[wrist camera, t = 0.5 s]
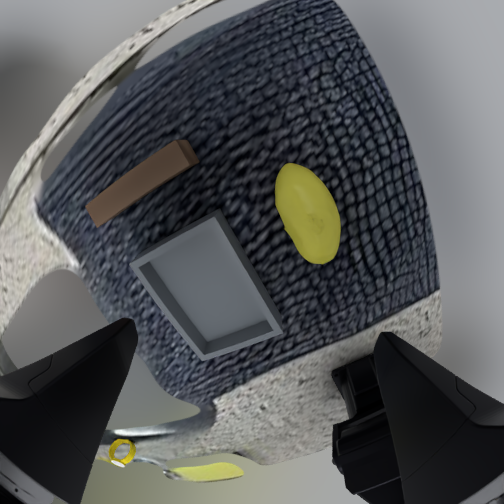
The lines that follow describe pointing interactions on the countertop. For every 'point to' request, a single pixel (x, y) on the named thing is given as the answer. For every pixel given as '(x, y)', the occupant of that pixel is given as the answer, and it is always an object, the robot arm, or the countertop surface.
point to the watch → (128, 457)
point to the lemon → (308, 213)
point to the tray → (208, 288)
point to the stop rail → (142, 180)
